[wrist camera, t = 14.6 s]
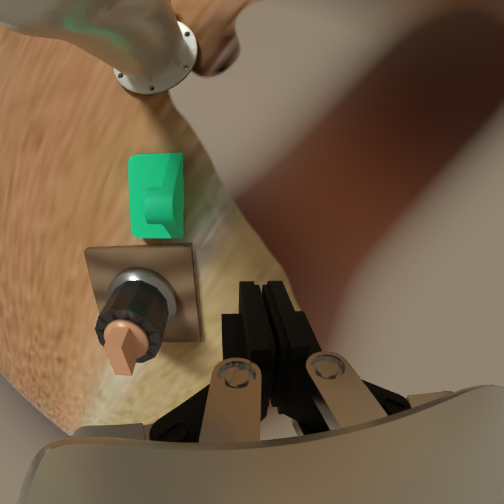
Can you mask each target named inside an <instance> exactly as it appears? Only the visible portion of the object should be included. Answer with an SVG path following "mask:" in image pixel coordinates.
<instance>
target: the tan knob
mask: <svg viewBox="0 0 504 504" xmlns="http://www.w3.org/2000/svg"><path fill="white" fill-rule="evenodd" d="M104 339H105V344H104V348H105V351H106V354H107V356H108V358H109V361H110V363H111V366H112V368H113V370H114V373H115V375H127V376H132V374H133V370H134V367H135V363H136V360H137V358H140V357H142V356H143V355H145V353H146V352H147V350H148V346H149V339H148V336H147V334H146V332H145V331H144V330H143V329H142V328H141V327H140V326H139V325H137V324H136V323H134V322H132V321H129V320H125V319H117V320H113V321H111V322H110V323H109V324H108V325H107V327H106V329H105V331H104Z"/></svg>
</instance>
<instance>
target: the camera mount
mask: <svg viewBox="0 0 504 504" xmlns="http://www.w3.org/2000/svg"><path fill="white" fill-rule="evenodd" d="M128 177H129V201H130V217H131V230H132V234H133V235H134V236H135V237H136V238H183V236H184V218H183V210H184V177H183V153H155V154H138V155H133V156H131V157H130V159H129V161H128Z"/></svg>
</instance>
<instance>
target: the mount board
mask: <svg viewBox="0 0 504 504" xmlns="http://www.w3.org/2000/svg"><path fill="white" fill-rule="evenodd" d="M84 254H85V258H86V263H87V267H88V272H89V276H90V280H91V284H92V288H93V292H94V295H95V299H96V303H97V306H98V309H99V313H101V311H102V310H103V308H104V306H105V305H106V291H107V288H108V286H109V285H110V283H111V281H112V280H113V279H114V277H115V276H116V275H117V274H118V273H119V272H121V271H123V270H125V269H127V268H131V267H143V268H148V269H151V270H153V271H155V272H157V273H159V274H160V275H162V276H163V277H164V278H165V279H167V280H168V282H169V283H170V284H171V285H172V287H173V289H174V291H175V293H176V296H177V302H178V305H177V311H176V316H175V319H174V322H173V323H172V325H171V326H170V327H169V328H168V329H167V330H166V331H164V335H163V339H162V342H201V333H200V325H199V316H198V307H197V298H196V287H195V277H194V265H193V253H192V243H189V244H161V245H135V246H111V247H88V248H87V249H85V250H84Z"/></svg>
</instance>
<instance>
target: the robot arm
mask: <svg viewBox="0 0 504 504" xmlns="http://www.w3.org/2000/svg"><path fill="white" fill-rule="evenodd" d="M0 24H1V25H2V26H4V27H5V28H7V29H9V30H12V31H15V32H18V33H21V34H24V35H29V36H35V37H43V38H53V39H60V40H63V41H67V42H69V43H72V44H74V45H76V46H78V47H80V48H82V49H83V50H85V51H87V52H88V53H90V54H92V55H93V56H95V57H97V58H98V59H100V60H102V61H103V62H105V63H107V64H108V65H110V66H111V67H113V71H114V75H115V77H116V79H117V81H118V82H119V83H120V84H121V85H122V86H123V87H125V88H126V89H127V90H130V91H132V92H134V93H138V94H145V95H149V94H157V93H161V92H164V91H167V90H169V89H171V88H173V87H174V86H176V85H178V84H179V83H180V82H181V81H183V80H184V79H185V78H186V77H187V75H188V74H189V73H190V72H191V70H192V68H193V67H194V65H195V62H196V59H197V54H198V45H197V41H196V38H195V36H194V33H193V32H192V31H191V30H190V28H189V27H187V26H186V25H185V24H183V23H181V22H179V21H177V19H176V16H175V13H174V11H173V8H172V5H171V0H0ZM187 35H190V36H188V37H186V36H187ZM185 67H188V69H187V70H185ZM121 76H123V77H122V78H121ZM152 88H154V90H151V89H152ZM222 348H223V361H221V362H219V363H218V364H217V365H216V366H215V367H214V370H213V372H212V377H211V382H210V384H209V385H208V386H206V387H205V388H203V389H202V390H201V391H199V392H198V393H196V394H195V395H194V396H192V397H191V398H189V399H188V400H186V401H185V402H184V403H182V404H181V405H179V406H178V407H176V408H175V409H173V410H172V411H170V412H169V413H167V414H166V415H164V416H163V417H161V418H160V419H158V420H157V421H156V422H155V423H154V424H153V425H148V426H143V424H142V423H138V424H124V425H103V426H84V427H81V428H79V429H77V430H76V431H75V432H74V434H73V435H72V438H70V439H64V440H60V441H56V442H53V443H50V444H48V445H46V446H44V447H43V448H42V449H41V450H40V451H39V452H38V453H37V454H36V456H35V457H34V459H33V460H32V462H31V464H30V467H29V468H28V471H27V473H26V475H25V478H24V481H23V484H22V487H21V491H20V495H19V498H18V502H17V504H504V387H503V386H498V385H480V386H474V387H469V388H466V389H462V390H459V391H456V392H452V391H442V392H435V393H427V394H418V395H408V396H407V398H406V399H405V398H404V397H403V396H401V395H399V394H396V393H394V392H391V391H389V390H386V389H383V388H381V387H379V386H376V385H374V384H371V383H369V382H366V381H364V380H362V379H361V378H360V377H359V376H358V375H357V373H356V372H355V370H354V369H353V368H352V366H351V365H350V364H349V363H348V361H347V360H346V359H345V358H344V357H342V356H341V355H339V354H337V353H334V352H327V351H323V352H322V350H321V348H320V346H319V344H318V341H317V339H316V337H315V335H314V333H313V330H312V328H311V326H310V324H309V322H308V320H307V317H306V315H305V313H304V312H303V311H296V312H295V310H294V308H293V305H292V303H291V301H290V298H289V296H288V294H287V291H286V289H285V287H284V284H283V282H282V281H268V282H267V285H263V286H262V294H261V290H260V286H259V285H255V284H254V281H242V282H240V284H239V314H222ZM269 399H271V404H272V407H277V409H278V413H279V414H285V415H287V416H289V417H290V418H292V425H293V427H294V429H295V431H296V434H297V436H296V437H289V438H281V439H273V440H262V441H260V422H261V421H262V420H263V419H264V418H265V417H266V415H267V409H268V405H269Z"/></svg>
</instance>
